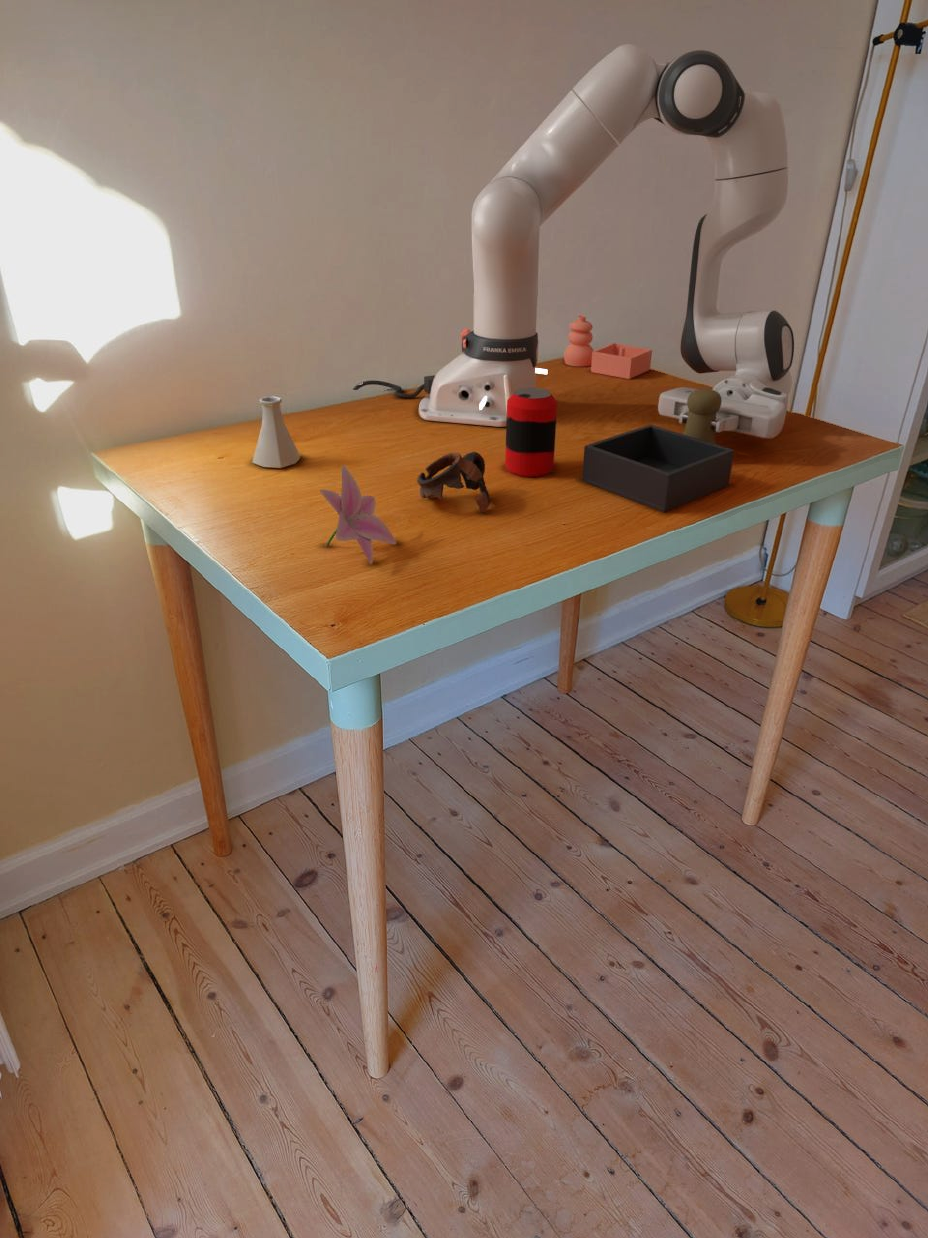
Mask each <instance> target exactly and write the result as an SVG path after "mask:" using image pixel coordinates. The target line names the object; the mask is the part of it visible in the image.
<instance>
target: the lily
mask: <svg viewBox="0 0 928 1238" xmlns="http://www.w3.org/2000/svg"><path fill="white" fill-rule="evenodd" d="M340 490H341V491H340V493H338V492H336V491H332V490H329V489H320V490H319V492H320V494H321V495H322V496H323V497H324V498H325V500H326V501H327V502H328V503H329V504H330V506H331V507H332V508H333V509H334V510H335V511H336V513H337V514H338V515H339V517H338V523H337V526H336V528H335V530H334V531H333V532H332V534H331V536H330V537H329V539H328V541H327V542H326V544H325V547H329V545H330V544H331V542H332V540H333V539H334V537H336V540H338V541H339V542H340V541H341V542H346V541H355V540H356V542H357V544H358V545H359V547H360V548H361V550H362V552H363V553H364V556H365V557H366V559H367V561H368V563H369V564H370V565H372V564H373V561H374V549H373V548H374V546H373V541H377V542H380V543H381V542H382V543H387V544H390V545H396V544H397V541H396V538H395V536H394V535H393V533H392V532H391V530H390V529H389V528H388V526H387V525H386V524H385V523H384V521H382V520H381V518H379V517H378V516H376V515H375V512H376V503H377V501H376V498H375V497H374V496H372V495H362V492H361V489H360V487H359V485H358V483H357V481H356V480H355V478H354V476H353V475H352V473H351V472H350V470H349V469H348V468H347V466H345V465H344V464H341V489H340Z"/></svg>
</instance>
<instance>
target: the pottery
mask: <svg viewBox="0 0 928 1238" xmlns="http://www.w3.org/2000/svg"><path fill="white" fill-rule="evenodd" d="M569 329H570V330H571V331H570V332H569V333H568V336H567V339H568V342H569V343H570V344H568V345H567V347H566V348H565V349H564V353H563V358H564V364H566V365H568V366H570V367H590V372H591V373H594V374H600V375H605V376H612V377H616V378H621V379H627V380H631V379H632V378H635V377H637V376H639V375H642V374H643V373H645V372H648V371H650V370H651V363H652V357H653V356H652V355H653V349H651V348H645V347H639V346H633V345H627V344H621V343H616V342H614V343H611V344H609V345H606V346H603V347H601V348H598V349H595V350H594V348H593V347H592V346H591V343H592V342H593V338H594V336H593V334H592V332H591V331H592V330H593V324H592V323H591V322H590V321H588V320H587V316H586V315H578V316H577V320H574V321H572V322H570V325H569Z"/></svg>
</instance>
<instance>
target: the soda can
mask: <svg viewBox="0 0 928 1238" xmlns="http://www.w3.org/2000/svg"><path fill="white" fill-rule="evenodd" d="M557 414H558V401H557V400H556V397H554V395H553V394H552V392H551V391H550V390H548V389H545V388H540V387H537V388H521V389H517V390H515V391H514V393H513V394H512V395H511V397H510V398H509V399H508V400H507V418H506V426H505V454H504V467H505V469H506V471H507V472H509V473H510V474H512V475H515V476H518V477H524V478H536V477H537V478H538V477H543V476H546V475H548V474H550V473H551V472H552V471H553V469H554V464H555V463H554V462H555V448H556V434H557V433H556V430H557V418H558V417H557V416H558V415H557Z"/></svg>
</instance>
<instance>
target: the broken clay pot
mask: <svg viewBox="0 0 928 1238" xmlns="http://www.w3.org/2000/svg"><path fill="white" fill-rule="evenodd" d="M446 468H447V469H446ZM425 471H426V472H427V475H426V474H425V473H424V472H423V471H422V472H421V473H419V475H418V476H417V479H416V482H417V484H418V485H419V486H420V489H419V495H420V497H421V498H422V499H426V498H427V499H431V498H433V497H435V498H437V499H440V500H443V499H444V497H443V492H444V486H446V487H447V488H450V489H452V488H453V489H457V490H460V489H461V490H462V489H463V488H466V489H467V490H468V489H469V490H473V491H478V489H479V492H480V494H479V496H478V497H477V498H476V499H475V503H476V504H477V506H478V509H479V512H480V513H481V514H482V513H484V512H485V511H487V509H488V508H489V507H490V505H491V503H492V501H491V497H490V494H489V491H488V489H487V486H486V481H485V478H484V475H485V471H486V463H485V459H484V457H483V456H482V455H481V454H480V453H479V452H477V451H471V452H467V453H466V454H465V455H463V456H462V454H461V453H460V452H449V453H446V454H444V455H442V456H441V457H438V458H437V459H436V460H434V461H432V462H431V463H429V464H428V465H427V466H426V467H425ZM441 471H442V472H441ZM439 472H441V473H439ZM438 473H439V474H438ZM462 478H463V481H464V483H463V482H462Z"/></svg>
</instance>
